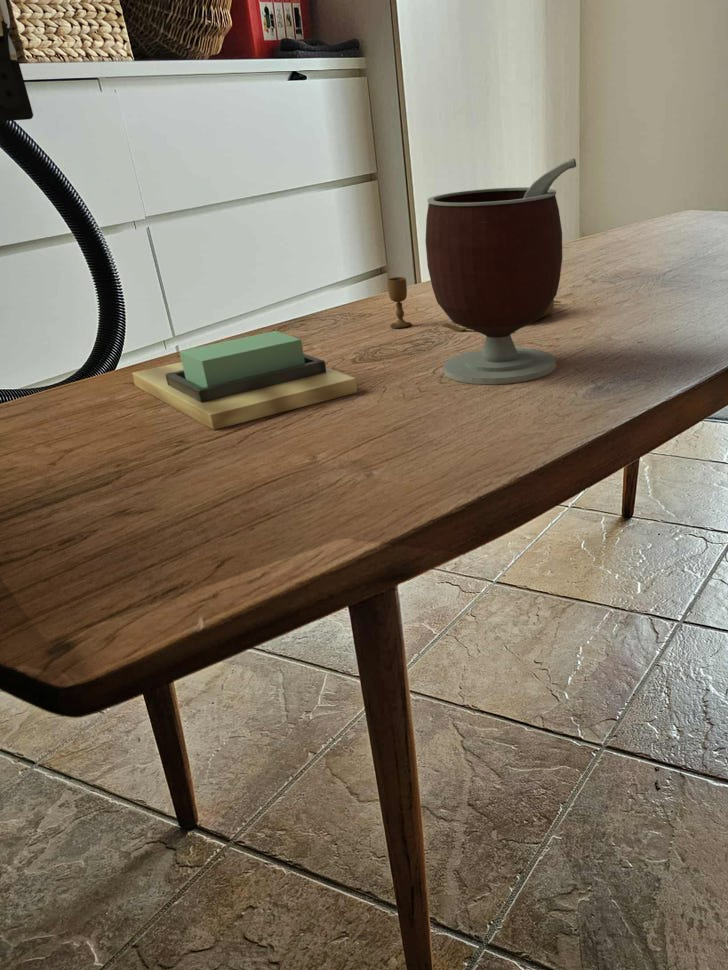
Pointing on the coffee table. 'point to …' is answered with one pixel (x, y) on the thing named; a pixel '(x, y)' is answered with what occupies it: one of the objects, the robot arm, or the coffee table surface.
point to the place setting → (399, 294)
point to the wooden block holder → (246, 392)
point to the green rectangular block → (241, 358)
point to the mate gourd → (496, 272)
